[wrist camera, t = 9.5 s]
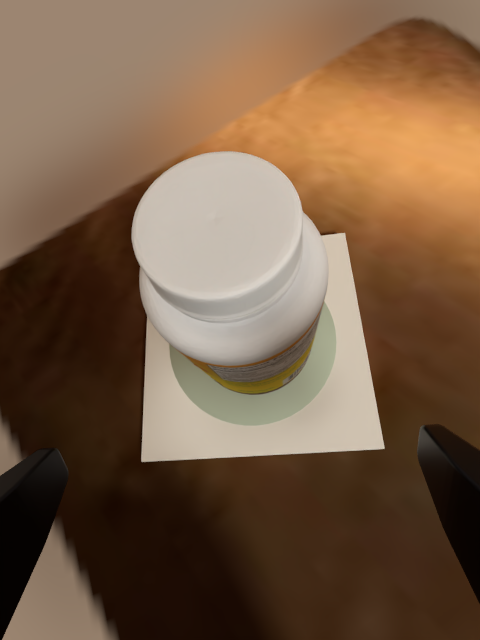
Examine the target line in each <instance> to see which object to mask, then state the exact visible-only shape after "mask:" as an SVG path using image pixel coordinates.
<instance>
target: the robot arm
mask: <svg viewBox="0 0 480 640" xmlns="http://www.w3.org/2000/svg"><path fill="white" fill-rule="evenodd" d="M417 454H418V460H419V463H420V466H421V469H422V471H423V474H424V477H425V480H426V482H427V485H428V488H429V491H430V493H431V496H432V499H433V502H434V504H435V507H436V510H437V513H438V515H439V518H440V521H441V523H442V526H443V528H444V531H445V533H446V535H447V537H448V539H449V541H450V544H451V546H452V548H453V550H454V552H455V554H456V556H457V558H458V560H459V562H460V564H461V566H462V568H463V570H464V572H465V575H466V577H467V579H468V581H469V583H470V585H471V587H472V589H473V591H474V593H475V595H476V597H477V599H478V601H479V603H480V450H479V449H477V448H476V447H474V446H473V445H471V444H470V443H468V442H467V441H465V440H464V439H462V438H460V437H459V436H457V435H456V434H454V433H453V432H451V431H450V430H448V429H447V428H445V427H444V426H442V425H439V424H434V425H423V426H421V428H420V432H419V441H418V450H417ZM67 481H68V469H67V467H66V464H65V462H64V460H63V458H62V456H61V454H60V452H59V450H58V449H56V448H42V449H39V450H37V451H36V452H34V453H33V454H31V455H30V456H29V457H27V458H26V459H24V460H23V461H21V462H20V463H18V464H17V465H15V466H14V467H13V468H11V469H10V470H8V471H7V472H5V473H4V474H2V475H1V476H0V640H2V638H3V636H4V634H5V632H6V629H7V627H8V625H9V623H10V621H11V618H12V616H13V614H14V612H15V609H16V607H17V605H18V603H19V601H20V598H21V596H22V594H23V592H24V590H25V587H26V585H27V583H28V581H29V579H30V576H31V574H32V572H33V569H34V567H35V565H36V563H37V561H38V558H39V556H40V554H41V552H42V550H43V547H44V545H45V543H46V540H47V537H48V535H49V532H50V529H51V527H52V524H53V521H54V518H55V515H56V512H57V509H58V507H59V504H60V501H61V498H62V495H63V492H64V489H65V486H66V484H67Z"/></svg>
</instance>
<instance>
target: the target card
mask: <svg viewBox="0 0 480 640" xmlns="http://www.w3.org/2000/svg"><path fill="white" fill-rule="evenodd" d="M321 238H322V240H323V243H324V245H325V248H326V252H327V257H328V268H329V274H328V285H327V292H326V296H325V299H324V303H323V308H322V311H321V315H320V319H319V322H318V326H317V331H316V334H315V338H314V341H313V345H312V348H311V352H310V355H309V357H308V360H307V362H306V364H305V366H304V368H303V369H302V371H301V372H300V373H299V374H298V375H297V376H296V377H295V378H294V379H293V380H292V381H291V382H290V383H289V384H287V385H286V386H284V387H282V388H280V389H278V390H276V391H273V392H270V393H267V394H261V395H247V394H241V393H237V392H234V391H231V390H229V389H227V388H225V387H223V386H222V385H220V384H219V383H217V382H216V381H215V380H214V379H212V378H211V377H210V376H209V375H207V374H206V373H205V372H204V371H202V370H201V369H200V368H199V367H197V366H195V365H194V364H193V363H192V362H191V361H190V360H189V359H187V358H186V357H185V356H184V355H183V354H181V353H180V352H179V351H178V350H176V349H175V348H174V347H173V346H172V345H170V344H169V343H168V342H167V341H166V340H165V339H164V338H163V337H162V336H161V335H160V334H159V332H158V331H157V330H156V329H155V327H154V326H153V324H152V323H151V321H150V320H149V318H148V316H147V332H146V356H145V381H144V405H143V430H142V455H141V462H151V461H169V460H188V459H206V458H225V457H243V456H262V455H280V454H299V453H318V452H336V451H355V450H373V449H384V443H383V438H382V432H381V427H380V421H379V416H378V411H377V405H376V400H375V394H374V389H373V383H372V378H371V373H370V367H369V362H368V356H367V351H366V345H365V340H364V335H363V329H362V324H361V318H360V313H359V307H358V302H357V297H356V291H355V286H354V280H353V275H352V269H351V264H350V258H349V253H348V248H347V242H346V237H345V233H340V234H331V235H323V236H321Z"/></svg>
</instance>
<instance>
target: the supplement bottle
mask: <svg viewBox="0 0 480 640" xmlns="http://www.w3.org/2000/svg"><path fill="white" fill-rule="evenodd" d="M132 244H133V249H134V253H135V256H136V258H137V261H138V263H139V265H140V273H139V286H140V295H141V300H142V303H143V306H144V309H145V312H146V314H147V316H148V318H149V320H150V321H151V323H152V324H153V326H154V327H155V329H156V330H157V331H158V332H159V334H160V335H161V336H162V337H163V338H164V339H165V340H166V341H167V342H168V343H169V344H170V345H172V346H173V347H174V348H175V349H176V350H178V351H179V352H180V353H181V354H183V355H184V356H185V357H186V358H187V359H189V360H190V361H191V362H192V363H193V364H194V365H195V366H197V367H199V368H200V369H201V370H202V371H204V372H205V373H206V374H207V375H209V376H210V377H211V378H212V379H214V380H215V381H216V382H217V383H219V384H220V385H222V386H223V387H225V388H227V389H229V390H231V391H234V392H237V393H241V394H247V395H261V394H267V393H270V392H273V391H276V390H278V389H280V388H282V387H284V386H286V385H287V384H289V383H290V382H291V381H292V380H293V379H294V378H295V377H296V376H297V375H298V374H299V373H300V372H301V371H302V369H303V368H304V366H305V364H306V362H307V360H308V357H309V355H310V352H311V348H312V345H313V341H314V338H315V334H316V331H317V326H318V322H319V319H320V315H321V311H322V308H323V303H324V299H325V296H326V292H327V285H328V274H329V268H328V257H327V252H326V248H325V245H324V243H323V240H322V238H321V236H320V233H319V232H318V230H317V229H316V227H315V225H314V224H313V222H312V221H311V220H310V219H309V218H308V216H307V215H306V214H305V213H304V212H303V211H302V206H301V201H300V199H299V196H298V193H297V191H296V190H295V188H294V186H293V184H292V183H291V181H290V180H289V179H288V178H287V176H286V175H285V174H284V173H282V172H281V171H280V170H279V169H278V168H277V167H276V166H274V165H273V164H271V163H269V162H267V161H266V160H264V159H261V158H259V157H256V156H253V155H250V154H246V153H241V152H232V151H225V152H212V153H206V154H201V155H198V156H195V157H192V158H189V159H187V160H185V161H182V162H180V163H178V164H176V165H175V166H173V167H171V168H170V169H168V170H167V171H166V172H164V173H163V174H162V175H161V176H160V177H158V178H157V179H156V180H155V181H154V182H153V183H152V185H151V186H150V187H149V188H148V190H147V191H146V192H145V194H144V195H143V196H142V198H141V200H140V202H139V204H138V206H137V209H136V211H135V214H134V219H133V223H132Z"/></svg>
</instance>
